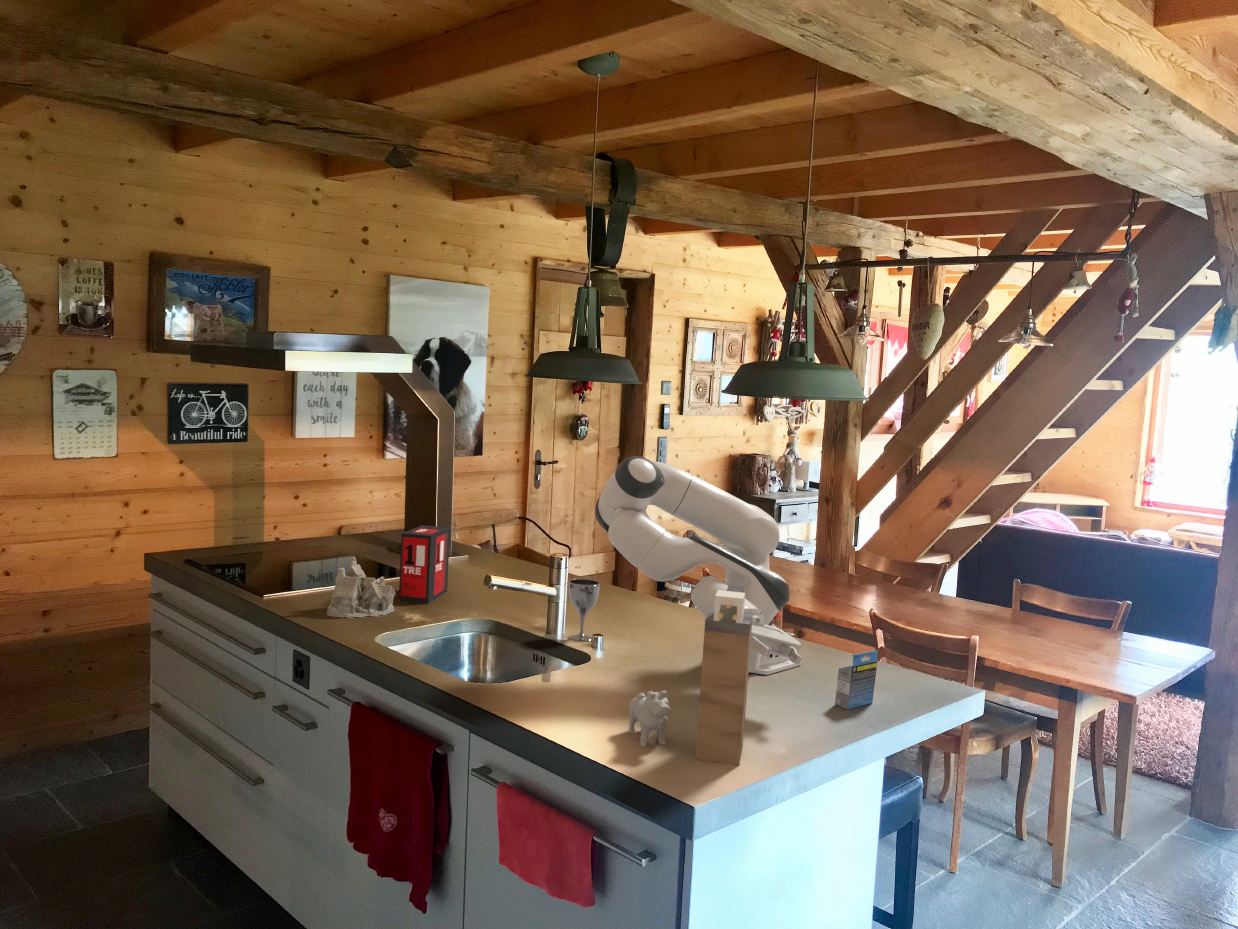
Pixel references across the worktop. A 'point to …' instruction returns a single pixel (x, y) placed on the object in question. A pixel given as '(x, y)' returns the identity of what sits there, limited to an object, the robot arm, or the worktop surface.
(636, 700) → the grey animal figure
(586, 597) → the wine glass
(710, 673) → the stand
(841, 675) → the label tape box
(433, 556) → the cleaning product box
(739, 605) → the plug
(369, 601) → the ceramic cottage
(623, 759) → the worktop surface
